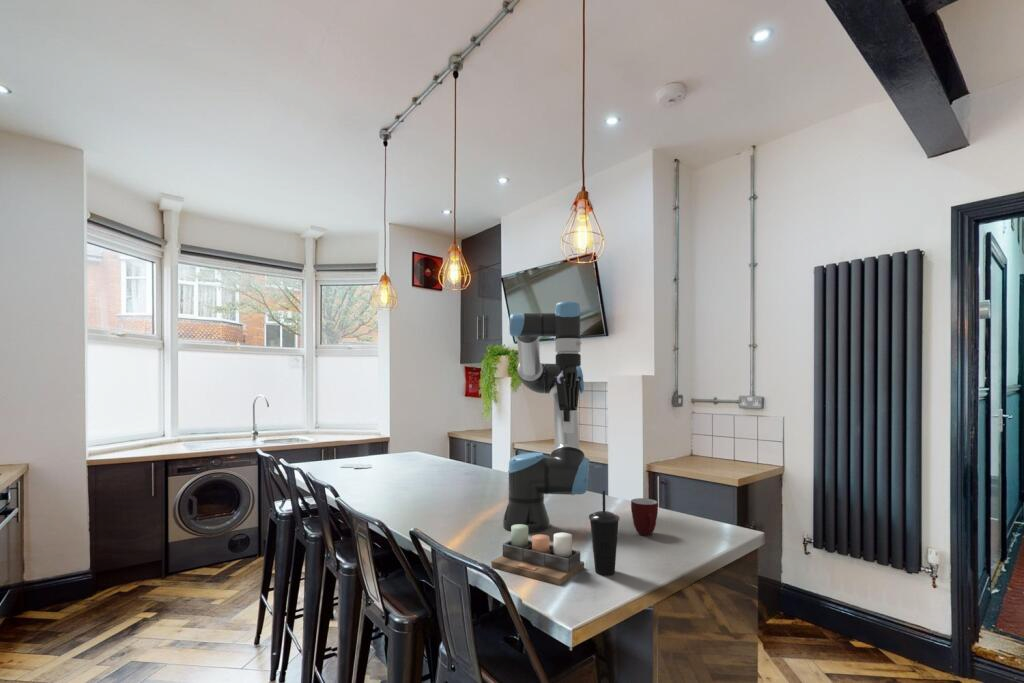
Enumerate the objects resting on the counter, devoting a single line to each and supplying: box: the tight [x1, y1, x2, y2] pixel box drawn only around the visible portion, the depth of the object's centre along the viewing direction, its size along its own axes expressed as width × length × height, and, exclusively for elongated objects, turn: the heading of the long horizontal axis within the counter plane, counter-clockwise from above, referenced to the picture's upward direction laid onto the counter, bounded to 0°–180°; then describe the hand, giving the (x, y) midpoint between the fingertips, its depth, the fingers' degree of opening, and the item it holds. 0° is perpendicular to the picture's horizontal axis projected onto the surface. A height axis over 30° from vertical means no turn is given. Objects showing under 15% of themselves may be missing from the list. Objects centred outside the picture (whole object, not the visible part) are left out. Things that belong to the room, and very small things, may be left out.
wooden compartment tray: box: [490, 539, 585, 586], centre depth 129 cm, size 20×13×4 cm, turn 56°
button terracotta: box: [531, 533, 551, 553], centre depth 131 cm, size 5×5×5 cm
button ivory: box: [553, 532, 573, 558], centre depth 127 cm, size 5×5×5 cm
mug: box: [630, 497, 659, 537], centre depth 156 cm, size 11×8×10 cm
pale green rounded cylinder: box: [510, 524, 529, 548], centre depth 134 cm, size 5×5×5 cm
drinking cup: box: [588, 490, 621, 577], centre depth 127 cm, size 8×8×20 cm
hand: (568, 432), depth 149 cm, fingers closed
